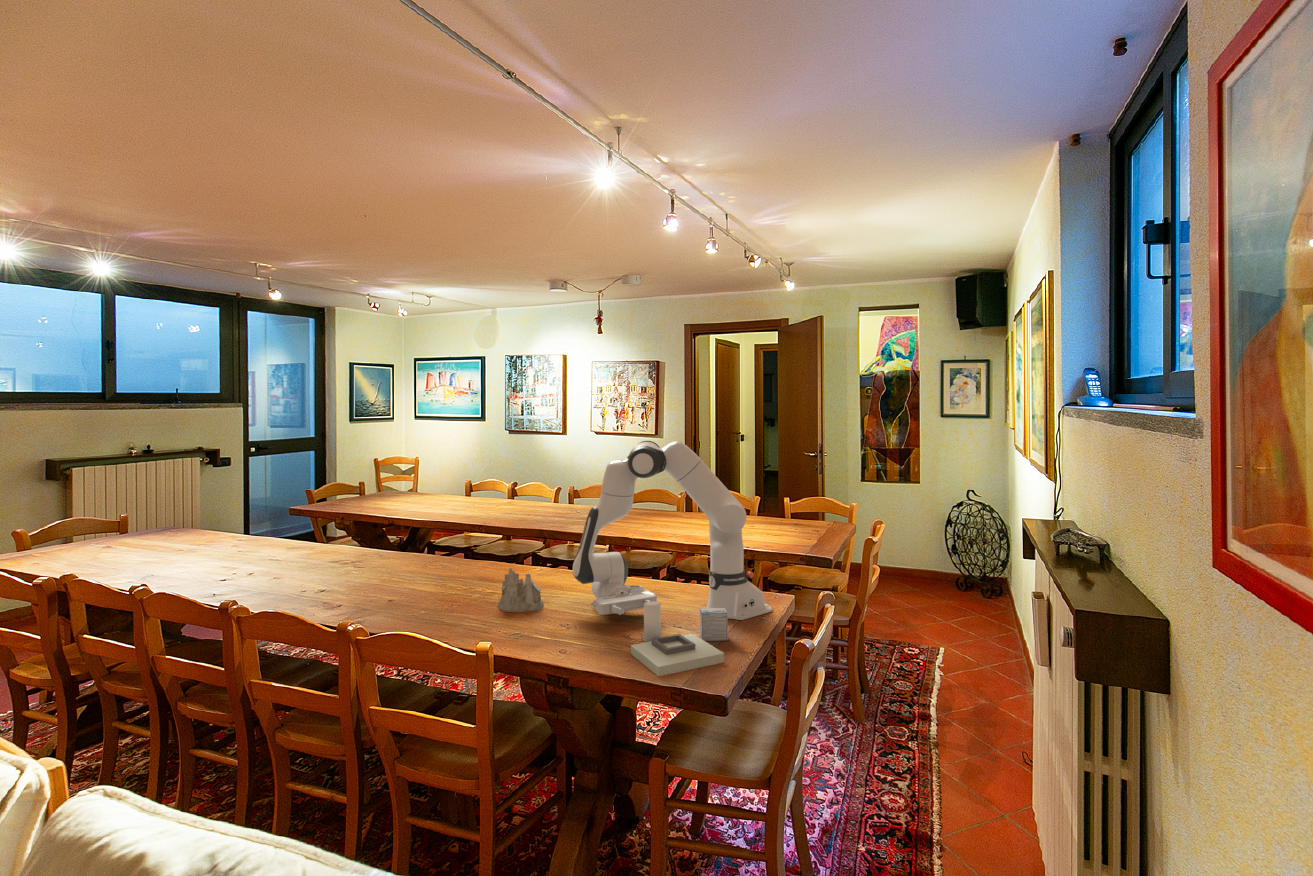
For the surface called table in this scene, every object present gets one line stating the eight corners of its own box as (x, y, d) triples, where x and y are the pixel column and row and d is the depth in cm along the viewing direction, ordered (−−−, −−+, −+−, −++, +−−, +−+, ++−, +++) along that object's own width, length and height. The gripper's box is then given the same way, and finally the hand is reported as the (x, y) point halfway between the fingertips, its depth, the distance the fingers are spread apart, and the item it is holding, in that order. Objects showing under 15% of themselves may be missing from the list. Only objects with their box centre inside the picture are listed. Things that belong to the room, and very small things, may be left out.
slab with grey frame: (692, 642, 190) (692, 628, 190) (724, 662, 175) (724, 647, 175) (630, 654, 181) (630, 640, 181) (658, 676, 166) (658, 661, 166)
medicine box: (725, 635, 195) (725, 607, 195) (728, 641, 191) (728, 612, 190) (699, 636, 195) (699, 608, 195) (701, 641, 191) (701, 612, 190)
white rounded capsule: (656, 636, 195) (655, 600, 194) (663, 642, 190) (663, 605, 190) (641, 639, 193) (640, 603, 192) (648, 644, 188) (648, 607, 188)
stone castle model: (541, 611, 219) (539, 567, 219) (492, 613, 219) (491, 569, 219) (549, 600, 234) (547, 559, 234) (504, 602, 234) (502, 561, 235)
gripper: (588, 593, 209) (604, 604, 197) (645, 584, 218) (664, 595, 206) (588, 612, 209) (605, 625, 197) (645, 603, 218) (664, 614, 206)
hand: (636, 609), depth 201 cm, fingers open, 8 cm apart
